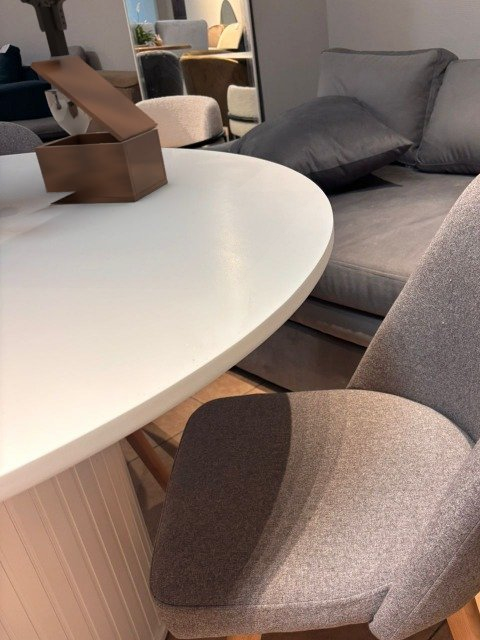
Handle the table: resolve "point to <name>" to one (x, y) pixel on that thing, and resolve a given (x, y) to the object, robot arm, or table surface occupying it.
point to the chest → (102, 167)
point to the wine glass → (67, 113)
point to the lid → (95, 96)
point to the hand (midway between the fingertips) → (60, 55)
